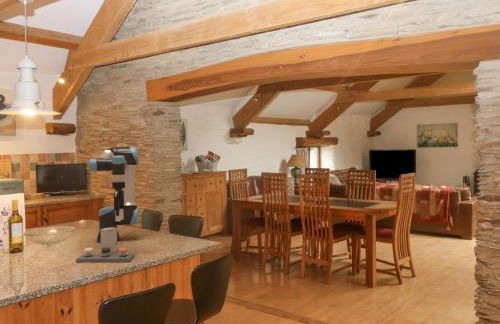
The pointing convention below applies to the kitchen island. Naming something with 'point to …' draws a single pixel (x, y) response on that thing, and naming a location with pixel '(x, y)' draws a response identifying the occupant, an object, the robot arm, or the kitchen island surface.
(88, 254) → the button cream
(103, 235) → the skincare box
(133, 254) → the button board
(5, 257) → the kitchen island surface
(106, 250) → the button black
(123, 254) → the button terracotta
